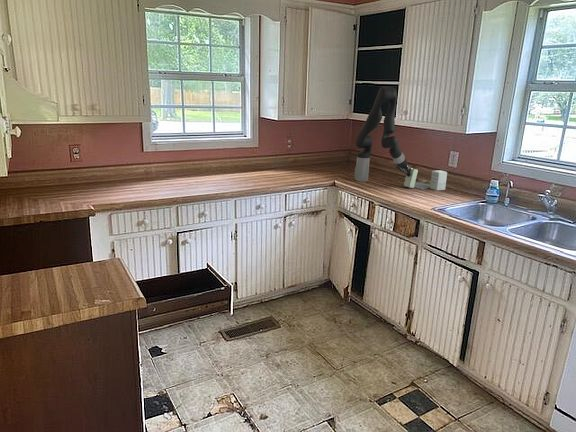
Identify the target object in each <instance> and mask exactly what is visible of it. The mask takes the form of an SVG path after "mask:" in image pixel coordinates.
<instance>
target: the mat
mask: <svg viewBox="0 0 576 432" xmlns="http://www.w3.org/2000/svg"><path fill="white" fill-rule="evenodd" d="M403 186H404V183H403ZM413 189H418V190H419V189H420V190H427V189H431V188H430V185H429V184H425V183H420V182H418V181H415V185H414V188H413Z"/></svg>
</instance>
